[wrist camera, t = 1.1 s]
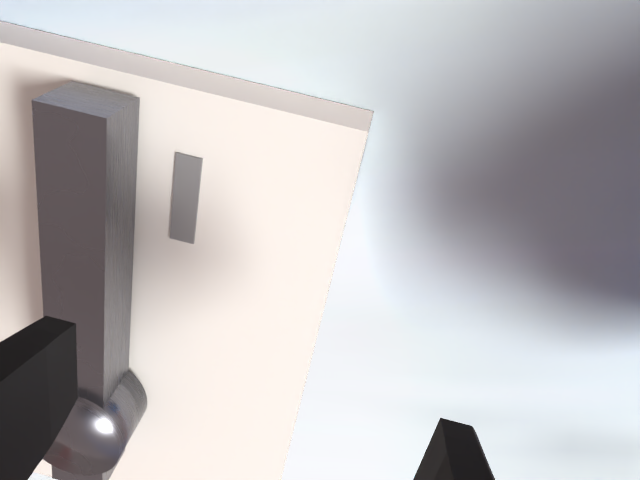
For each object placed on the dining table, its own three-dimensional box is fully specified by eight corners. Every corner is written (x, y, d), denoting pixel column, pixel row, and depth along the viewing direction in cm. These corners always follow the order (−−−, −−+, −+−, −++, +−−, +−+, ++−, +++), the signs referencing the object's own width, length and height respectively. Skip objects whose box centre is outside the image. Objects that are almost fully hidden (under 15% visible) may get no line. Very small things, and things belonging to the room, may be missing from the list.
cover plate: (276, 496, 28) (266, 537, 26) (-104, 394, 28) (-140, 427, 26) (373, 111, 18) (368, 132, 16) (-204, -29, 19) (-272, -23, 17)
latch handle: (143, 455, 24) (117, 506, 22) (60, 432, 24) (26, 481, 22) (167, 103, 16) (130, 130, 14) (45, 73, 17) (-9, 96, 15)
